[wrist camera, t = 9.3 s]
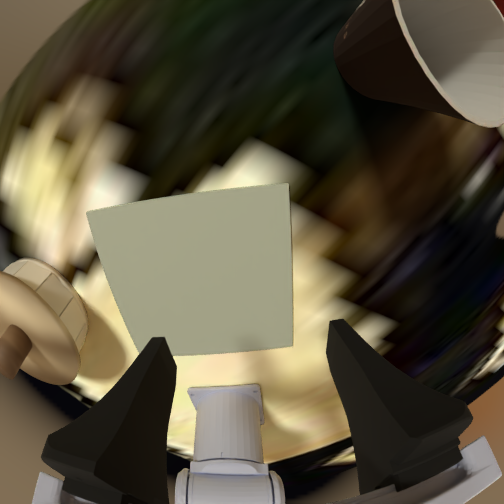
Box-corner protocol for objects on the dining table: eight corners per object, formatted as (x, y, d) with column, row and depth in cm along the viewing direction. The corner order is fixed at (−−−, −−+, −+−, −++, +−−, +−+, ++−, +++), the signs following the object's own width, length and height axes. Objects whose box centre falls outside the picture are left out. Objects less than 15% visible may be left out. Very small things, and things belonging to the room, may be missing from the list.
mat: (292, 344, 25) (292, 346, 25) (141, 353, 25) (140, 355, 25) (287, 183, 18) (288, 184, 18) (87, 211, 18) (85, 212, 18)
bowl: (104, 346, 25) (90, 378, 21) (36, 341, 25) (21, 367, 21) (62, 251, 20) (34, 279, 16) (-4, 262, 20) (-28, 284, 16)
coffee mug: (341, 126, 17) (434, 141, 8) (298, 15, 13) (352, -59, 4) (456, 102, 15) (550, 117, 7) (425, 9, 12) (508, -15, 3)
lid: (103, 385, 21) (89, 425, 17) (20, 371, 21) (4, 400, 17) (37, 264, 15) (0, 303, 11) (-36, 275, 15) (-63, 301, 11)
